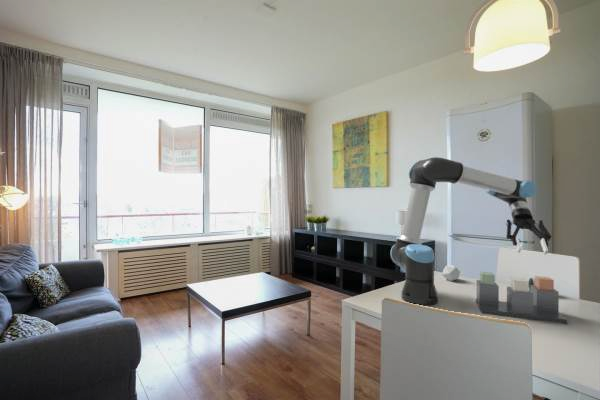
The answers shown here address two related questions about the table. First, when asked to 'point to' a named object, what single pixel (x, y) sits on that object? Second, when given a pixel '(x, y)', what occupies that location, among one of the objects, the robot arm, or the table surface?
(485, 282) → the sage button
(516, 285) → the ivory button
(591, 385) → the table surface
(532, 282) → the ceramic mug
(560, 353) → the table surface
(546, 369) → the table surface
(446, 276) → the crumpled paper ball
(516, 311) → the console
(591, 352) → the table surface
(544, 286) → the terracotta button
